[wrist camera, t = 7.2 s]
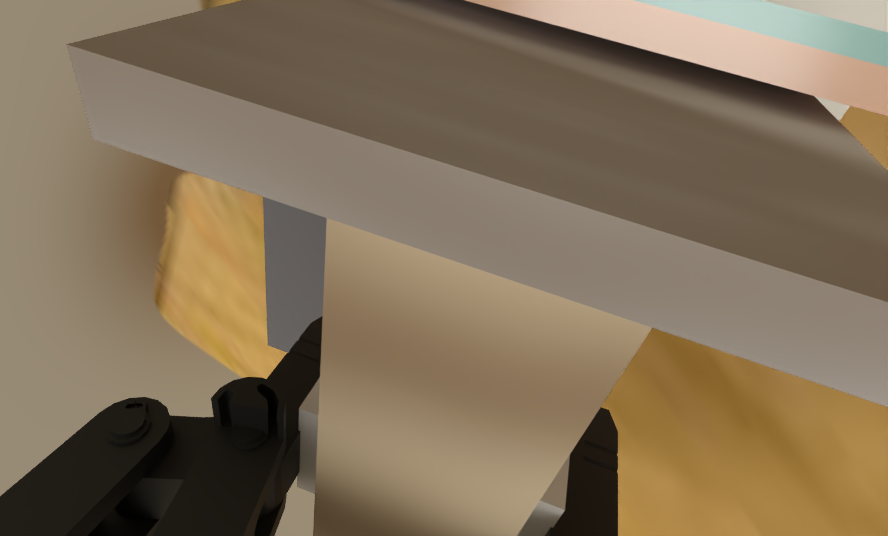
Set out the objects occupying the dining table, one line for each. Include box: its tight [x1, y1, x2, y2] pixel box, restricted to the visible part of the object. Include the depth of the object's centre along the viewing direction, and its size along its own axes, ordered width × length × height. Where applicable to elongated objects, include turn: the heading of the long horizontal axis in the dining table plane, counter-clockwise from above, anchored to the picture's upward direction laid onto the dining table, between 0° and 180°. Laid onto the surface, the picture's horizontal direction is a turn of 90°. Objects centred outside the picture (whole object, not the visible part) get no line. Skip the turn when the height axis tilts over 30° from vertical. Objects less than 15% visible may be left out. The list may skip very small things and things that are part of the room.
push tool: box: [67, 0, 888, 536], centre depth 12 cm, size 16×9×8 cm, turn 169°
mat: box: [263, 197, 327, 353], centre depth 30 cm, size 20×13×1 cm, turn 169°
